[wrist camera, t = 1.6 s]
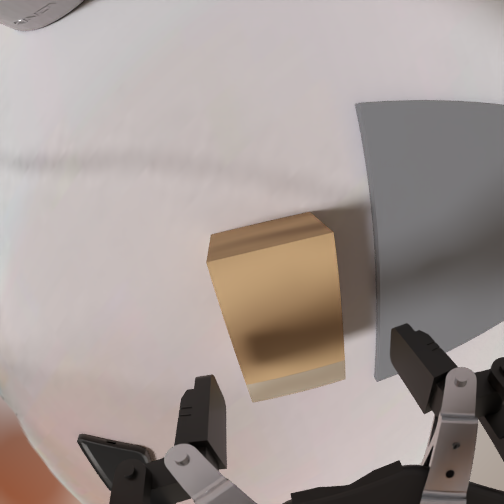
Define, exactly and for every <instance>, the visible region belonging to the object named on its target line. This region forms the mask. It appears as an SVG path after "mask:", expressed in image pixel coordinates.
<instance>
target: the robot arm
mask: <svg viewBox="0 0 504 504" xmlns="http://www.w3.org/2000/svg"><path fill="white" fill-rule="evenodd" d="M83 1H84V0H0V24H3V25H5V26H8V27H10V28H13V29H15V30H20V31H30V30H35V29H38V28H41V27H44V26H46V25H48V24H50V23H52V22H54V21H56V20H58V19H59V18H61V17H63V16H64V15H66V14H67V13H69V12H70V11H71V10H73V9H74V8H75V7H77V6H78V5H79V4H80V3H82V2H83ZM390 359H391V363H392V365H393V367H394V368H395V370H396V371H397V373H398V374H399V376H400V377H401V379H402V380H403V382H404V383H405V385H406V386H407V388H408V389H409V391H410V393H411V394H412V396H413V397H414V399H415V400H416V402H417V404H418V405H419V407H420V408H421V410H422V411H423V413H424V414H426V413H428V412H430V411H433V412H434V414H435V415H434V418H433V423H432V428H431V432H430V436H429V440H428V444H427V448H426V452H425V455H424V458H423V460H422V463H421V465H404V466H402V465H401V463H400V461H396V462H394V463H391V464H389V465H386V466H384V467H381V468H379V469H376V470H374V471H372V472H370V473H369V474H367V475H366V476H364V477H362V478H360V479H359V480H357V481H355V482H354V483H352V484H350V485H345V486H332V487H317V488H313V489H309V490H305V491H300V492H295V493H291V498H292V499H291V500H289V501H286V502H285V503H283V504H504V491H500V490H496V489H493V488H489V487H486V486H482V485H479V484H476V483H473V482H470V481H469V480H470V474H471V469H472V464H473V459H474V451H475V445H476V437H477V428H478V419H479V421H480V422H481V424H482V426H483V427H484V429H485V430H486V432H487V434H488V435H489V437H490V439H491V440H492V442H493V443H494V445H495V447H496V449H497V450H498V452H499V454H500V456H501V458H502V459H503V461H504V357H502V358H498V359H496V360H495V361H494V362H493V364H492V366H491V369H489V370H485V371H481V372H476V373H474V372H473V371H472V370H470V369H468V368H465V367H457V365H456V364H455V363H454V362H453V361H452V360H451V359H450V357H449V356H448V355H447V354H446V353H445V352H444V351H443V350H442V349H441V348H440V346H439V345H438V344H437V343H435V341H434V340H433V339H432V338H431V336H430V335H429V334H427V333H425V332H423V331H421V330H418V331H415V330H414V329H413V328H412V327H411V326H410V325H409V324H408V323H405V324H403V325H400V326H397V327H394V328H392V329H391V339H390ZM219 469H227V454H226V405H225V400H224V397H223V395H222V393H221V390H220V388H219V386H218V384H217V381H216V379H215V377H214V375H206V376H200V377H196V379H195V386H194V389H190V390H187V391H186V392H185V394H184V395H183V397H182V398H181V403H180V410H179V417H178V423H177V430H176V437H175V444H174V447H172V448H170V449H169V450H168V451H167V453H166V454H165V457H164V458H162V459H159V460H156V461H153V462H149V463H146V464H143V463H142V462H141V461H140V460H137V459H127V460H124V461H122V462H121V463H120V464H119V465H118V466H117V468H116V470H115V474H114V479H113V485H112V490H111V496H110V503H109V504H176V503H177V502H181V501H184V500H187V499H191V498H192V499H193V500H194V503H195V504H257V503H255V502H254V501H253V500H252V499H251V498H250V497H248V496H247V495H246V494H245V493H244V492H243V491H241V490H240V489H239V488H238V487H237V486H236V485H235V484H234V483H232V482H231V481H230V480H229V479H226V478H225V477H224V476H223V475H222V474H221V473H220V472H219Z"/></svg>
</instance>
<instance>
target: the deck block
mask: <svg viewBox="0 0 504 504" xmlns="http://www.w3.org/2000/svg"><path fill="white" fill-rule="evenodd" d="M206 263H207V266H208V269H209V273H210V276H211V279H212V282H213V286H214V289H215V292H216V295H217V298H218V302H219V305H220V308H221V311H222V314H223V317H224V320H225V323H226V326H227V329H228V332H229V335H230V338H231V341H232V344H233V347H234V350H235V353H236V356H237V359H238V362H239V365H240V368H241V371H242V373H243V376H244V379H245V382H246V385H247V388H248V391H249V394H250V396H251V399H252V402H258V401H263V400H268V399H273V398H277V397H281V396H286V395H290V394H294V393H298V392H302V391H306V390H310V389H313V388H317V387H321V386H324V385H328V384H331V383H334V382H338V381H341V380H344V379H345V356H344V337H343V321H342V307H341V295H340V284H339V274H338V265H337V256H336V247H335V239H334V232H333V231H332V230H330V229H329V228H328V227H327V226H326V225H325V224H323V223H322V222H321V221H320V220H319V219H318V218H316V217H315V216H314V215H313V214H312V213H310V212H306V213H302V214H297V215H293V216H289V217H284V218H280V219H275V220H271V221H267V222H262V223H258V224H254V225H250V226H245V227H241V228H237V229H233V230H229V231H225V232H220V233H216V234H212V235H211V238H210V244H209V250H208V256H207V262H206Z"/></svg>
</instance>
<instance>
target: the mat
mask: <svg viewBox="0 0 504 504" xmlns="http://www.w3.org/2000/svg"><path fill="white" fill-rule="evenodd" d="M355 106H356V111H357V116H358V121H359V126H360V132H361V137H362V143H363V149H364V155H365V161H366V168H367V175H368V183H369V191H370V200H371V209H372V219H373V231H374V245H375V262H376V293H377V328H376V357H375V374H374V377H375V379H376V381H377V382H378V381H381V380H383V379H386V378H389V377H391V376H394V375H396V374H398V373H397V371H396V370H395V368H394V367H393V365H392V363H391V359H390V339H391V329H392V328H394V327H397V326H400V325H403V324H405V323H408V324H409V325H410V326H411V327H412V328H413V329H414V330H415V331H418V330H421V331H423V332H425V333H427V334H429V335H430V336H431V338H432V339H433V340H434V341H435V343H437V344H438V345H439V346H440V348H441V349H442V350H443V351H444V352H445V353H446V352H448V351H450V350H452V349H454V348H456V347H458V346H460V345H462V344H464V343H466V342H468V341H469V340H471V339H473V338H475V337H477V336H479V335H480V334H482V333H484V332H486V331H487V330H489V329H491V328H492V327H494V326H496V325H497V324H499V323H501V322H502V321H504V105H500V104H490V103H479V102H464V101H438V100H410V101H382V102H366V103H358V104H355Z"/></svg>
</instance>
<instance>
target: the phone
mask: <svg viewBox="0 0 504 504" xmlns="http://www.w3.org/2000/svg"><path fill="white" fill-rule="evenodd" d="M107 441H109V442H113V443H116V445H115V444H110V443H107ZM77 442H78V444H79V446H80V448H81V449H82V451H83V452H84V454H85V456H86V457H87V459H88V460H89V462H90V463H91V465H92V466H93V468H94V469H95V471H96V472H97V474H98V475H99V477H100V478H101V479H102V481H103V482H104V484H105V485H106V486H107V488H108V489H109V490H110V491H111V490H112V485H113V479H114V474H115V470H116V468H117V466H118V465H119V464H120V463H121V462H122V461H124V460H127V459H137V460H140V461H141V462H142V463H143V464H146V463H149V462H151V459H150V456H149V453H148V451H147V450H146V449H145V448H143V447H141V446H138V445H133V444H128V443H122V442H117V441H112V440H107V439H103V438H99V437H94V436H90V435H86V434H80V435H79V437H78V440H77ZM128 445H129V446H128Z"/></svg>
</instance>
